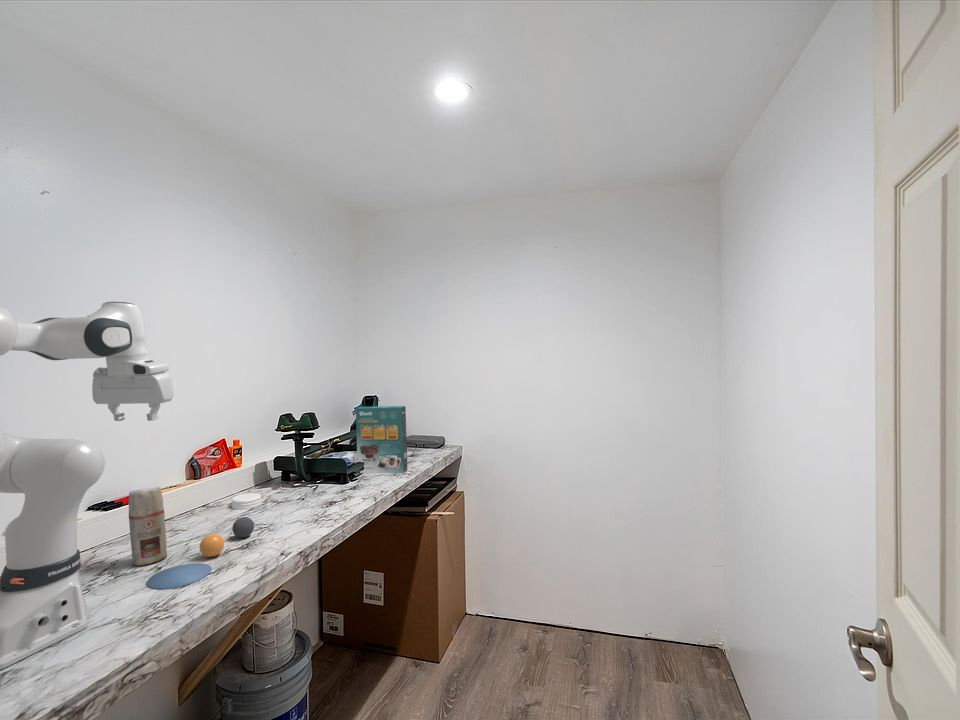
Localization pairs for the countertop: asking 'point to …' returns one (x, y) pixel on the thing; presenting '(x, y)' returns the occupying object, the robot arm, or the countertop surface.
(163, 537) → the beige paper tall bag
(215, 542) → the orange ball
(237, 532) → the black ball
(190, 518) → the countertop surface
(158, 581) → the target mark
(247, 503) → the coaster
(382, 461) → the cake mix box
